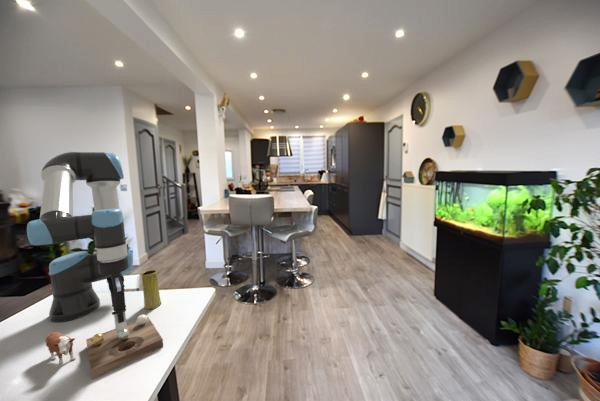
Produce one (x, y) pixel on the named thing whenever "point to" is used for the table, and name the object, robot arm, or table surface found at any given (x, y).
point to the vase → (151, 289)
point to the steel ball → (123, 334)
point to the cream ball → (141, 319)
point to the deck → (123, 347)
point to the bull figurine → (59, 345)
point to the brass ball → (97, 339)
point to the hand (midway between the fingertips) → (121, 330)
